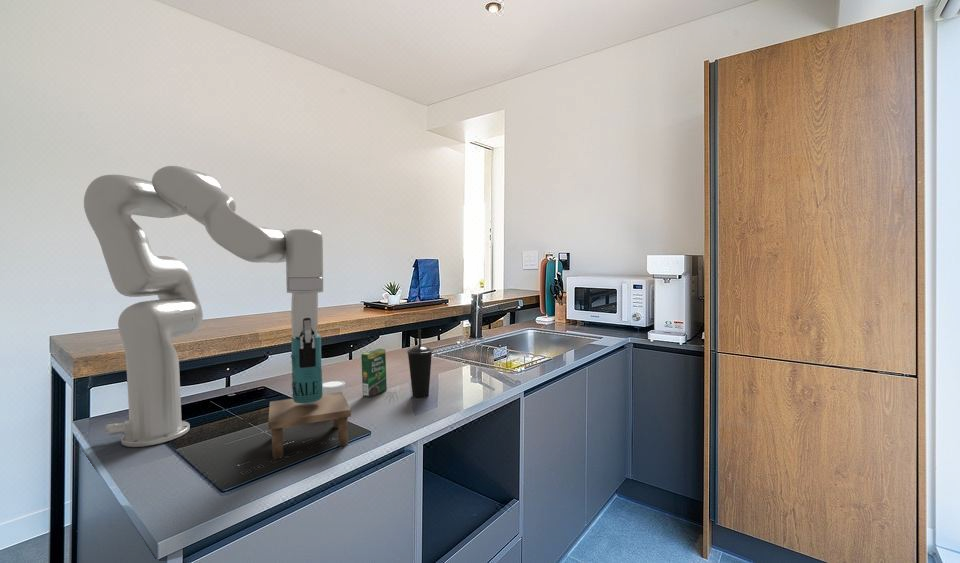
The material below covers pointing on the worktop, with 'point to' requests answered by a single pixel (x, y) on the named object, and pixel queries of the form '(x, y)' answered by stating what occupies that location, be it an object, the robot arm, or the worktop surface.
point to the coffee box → (374, 372)
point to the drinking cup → (420, 369)
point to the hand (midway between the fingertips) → (306, 361)
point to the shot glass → (333, 387)
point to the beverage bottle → (306, 374)
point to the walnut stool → (308, 417)
